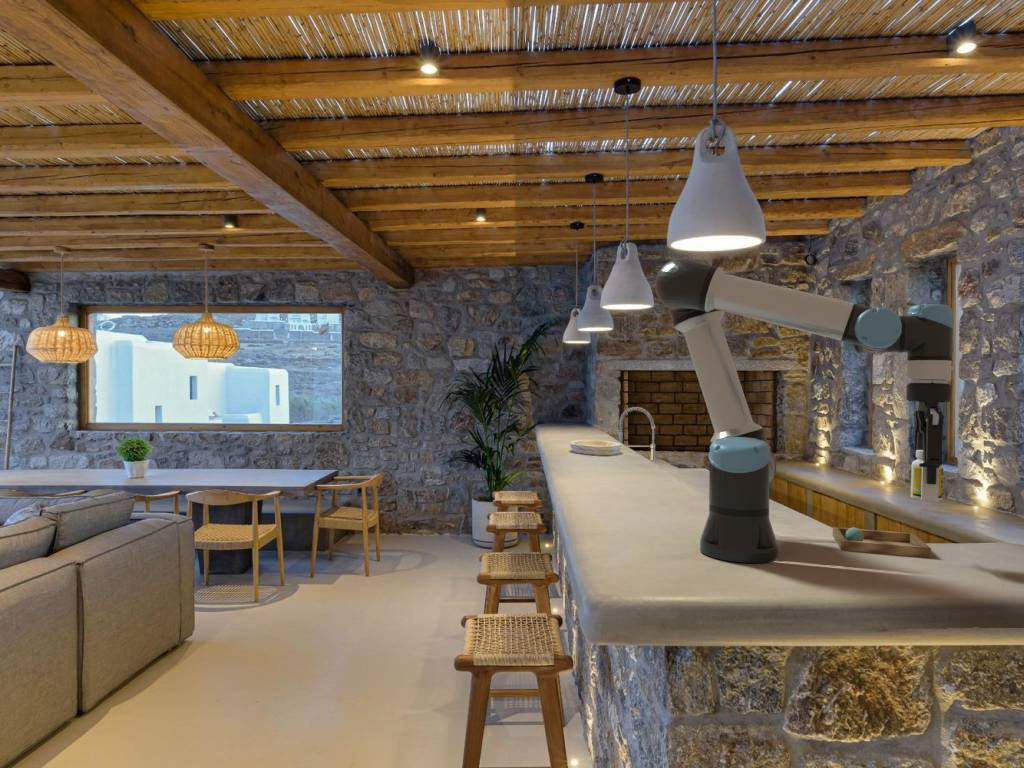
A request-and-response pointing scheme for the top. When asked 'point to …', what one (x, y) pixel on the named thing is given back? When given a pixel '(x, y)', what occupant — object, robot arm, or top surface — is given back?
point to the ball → (854, 534)
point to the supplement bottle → (917, 478)
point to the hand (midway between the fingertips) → (926, 497)
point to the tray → (883, 543)
